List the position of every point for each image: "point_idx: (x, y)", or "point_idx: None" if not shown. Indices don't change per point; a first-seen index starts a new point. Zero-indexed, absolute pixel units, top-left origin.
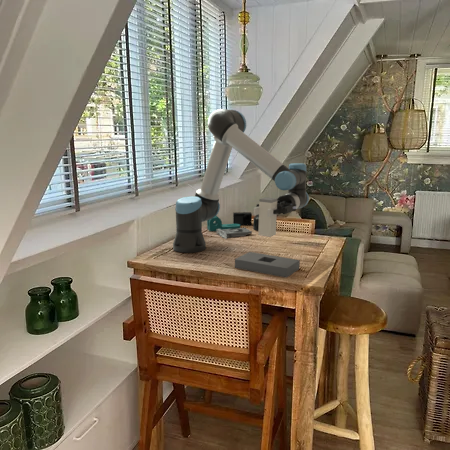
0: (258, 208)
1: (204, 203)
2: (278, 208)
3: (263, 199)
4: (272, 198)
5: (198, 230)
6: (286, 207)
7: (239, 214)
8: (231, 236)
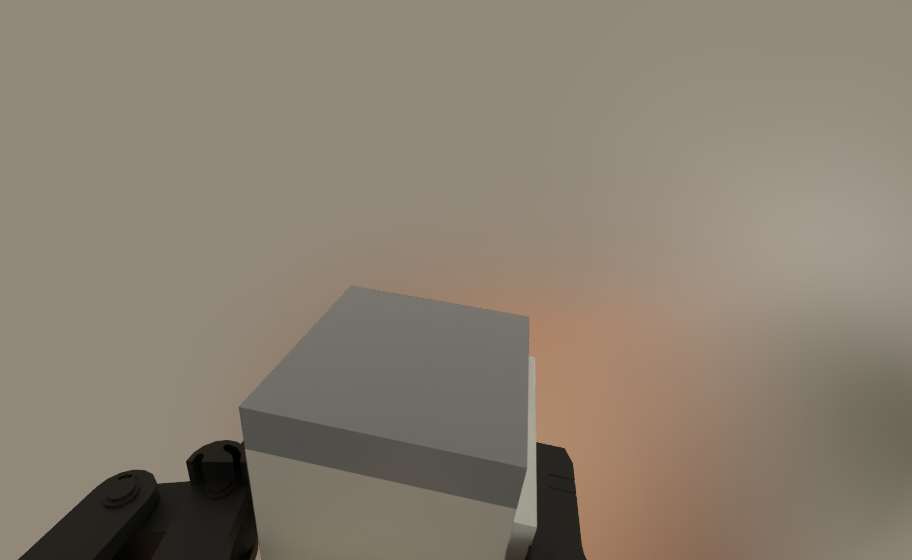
0: None
1: None
2: (240, 475)
3: (465, 306)
4: (344, 379)
5: None
6: (68, 513)
7: None
8: None
